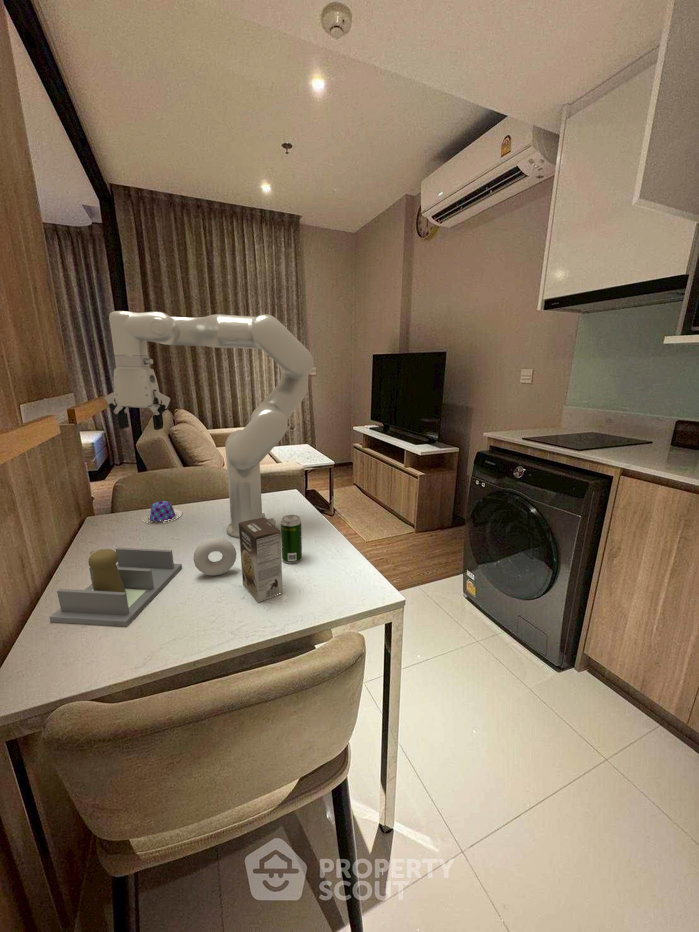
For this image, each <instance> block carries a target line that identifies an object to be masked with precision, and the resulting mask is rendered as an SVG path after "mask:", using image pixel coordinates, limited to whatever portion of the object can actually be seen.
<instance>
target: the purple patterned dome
mask: <svg viewBox="0 0 699 932" xmlns="http://www.w3.org/2000/svg"><path fill="white" fill-rule="evenodd" d="M175 512H178V513H179V517H177V518H176V519H174V518H175V517H176V514H175ZM182 512H183V511H181V510H178V509H174V507H173V505H172V503H171V502H170V501H167V500H166V501H165V500H161V501H156V502H154V503H152V504H151V507H150V518H149V519H150V520H154V521H160V520H161V521H164V520H168V519H171V521H169V520H168V522H172V521H175V520H177V519H179V518H180V517H181V516H183V515H182V514H183V513H182ZM174 516H175V517H174ZM173 517H174V518H173ZM172 518H173V519H174V520H172ZM150 520H149V521H150ZM142 522H144V523H147V524H149V523H148V522H145V521H144V520H143V519H142ZM168 522H167V523H168ZM164 523H166V522H163V523H162V524H164Z"/></svg>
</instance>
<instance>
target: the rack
mask: <svg viewBox="0 0 699 932" xmlns="http://www.w3.org/2000/svg"><path fill="white" fill-rule="evenodd" d="M115 552H116V553H117V555H118V562H117V563H116V565H117V568H118V571H119V574H120V577H121V579H122V582H123V585H124V588H125V591H126V592H108V591H93V570H92V569H91V568H90V567H89V568H88V569H89V574H90V579H91V584H89V585H88V586H87V587H86V588H84V589H72V588H70V589H69V588H59V589H58V590H57V591H56V593H57V597H58V602H59V607H60V608H59V609H57V611H55V612H54V613H52V614H51V615H50V616H49V622H50V623H57V624H58V623H60V624H61V623H62V624H75V625H76V624H77V625H93V626H95V625H96V626H107V627H109V626H110V627H125V628H127V627H128V626H129V625H130V624H131V623H132V622H133V621H134V619H136V618H137V616H138V615H140V614H141V612H142V611H143V610H144V609H145V608H146V607H147V606H148V605H149V604H150V603H151V602H152V601H153V600H154V598H155V597H157V595H159V593H160V592H161V591H162V590H163V589H164V588H165V587H167V585H168V584H169V583H170V582H171V581H172V580H173V579H174V577H176V575H177V574H178V573H179V572H180V571H181V570H182V569H183V564H182V563H174V555H173V549H158V548H157V549H153V548H133V547H117V548H115Z"/></svg>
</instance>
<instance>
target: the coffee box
mask: <svg viewBox="0 0 699 932" xmlns="http://www.w3.org/2000/svg"><path fill="white" fill-rule="evenodd" d="M238 524H239V536H240V538H239V548H240V559H241V573H242V574H241V575H242V576H241V577H242V584H243V586H244V588H245V589H246V590H247V591H248V592H249V593H250V595H251V596H252V597H253V598H254V599H255V601H256V602H257V603H258V602H259V603H262V602H264V601H267V600H269V599H271V598H270V597H272V598H274V597H273V596H275V595H277V594H279V593H282V594H283V573H282V572H283V569H282V567H283V564H282V562H283V559H282V544H281V528H280V529H279V528H278V527H277V526H276V525H275V526H274V525H273V524H272V523H270V522H269V521H268V520H267V519H265V518H264V517H262V518H258V519H252V520H248V521H244V522H240V523H238ZM277 596H278V595H277ZM275 597H276V596H275ZM268 598H269V599H268ZM266 599H267V600H266ZM263 600H264V601H263ZM261 601H262V602H261Z"/></svg>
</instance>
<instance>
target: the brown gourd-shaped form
mask: <svg viewBox="0 0 699 932" xmlns="http://www.w3.org/2000/svg"><path fill="white" fill-rule="evenodd" d="M87 561H88V566H89V568H91V569H92V570H93V591H108V592H126V591H125V588H124V585H123V582H122V579H121V577H120V574H119V571H118V568H117V564H118V555H117V553H116V550H115V549H110V548H104V549H99V550H97V551H95V552H93V553H91V555H89V557H88V560H87Z"/></svg>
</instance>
